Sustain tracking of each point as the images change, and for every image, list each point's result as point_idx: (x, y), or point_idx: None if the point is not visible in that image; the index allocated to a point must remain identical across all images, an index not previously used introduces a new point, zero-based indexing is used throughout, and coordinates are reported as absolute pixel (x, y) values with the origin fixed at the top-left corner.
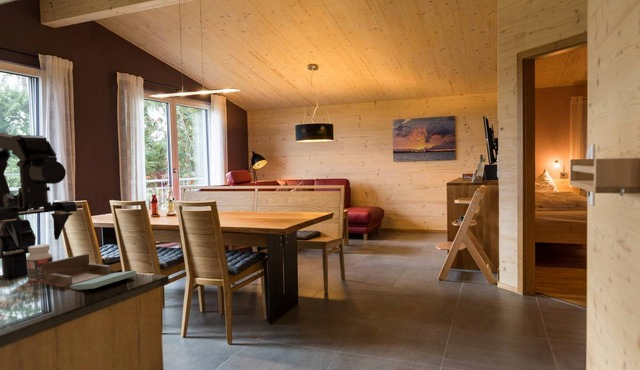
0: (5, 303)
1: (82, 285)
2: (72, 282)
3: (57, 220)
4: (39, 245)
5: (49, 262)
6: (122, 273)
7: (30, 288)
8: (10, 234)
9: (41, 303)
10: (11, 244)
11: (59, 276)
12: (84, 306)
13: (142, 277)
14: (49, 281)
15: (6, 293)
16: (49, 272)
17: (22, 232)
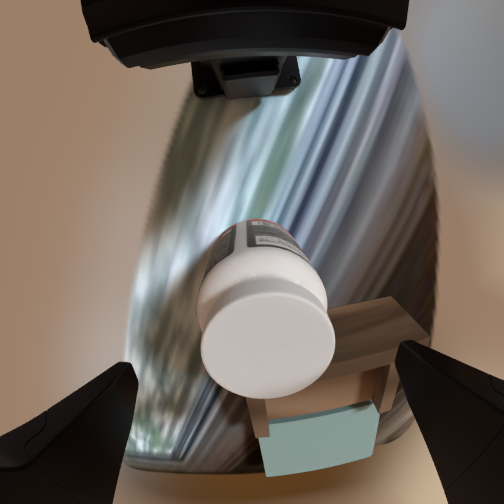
0: None
1: (262, 455)
2: (277, 409)
3: (474, 469)
4: (281, 340)
5: None
6: (353, 451)
7: None
8: (124, 24)
9: (181, 429)
10: (164, 62)
11: (250, 417)
12: (226, 474)
13: (397, 417)
14: None
15: (135, 289)
16: None
17: (279, 1)
